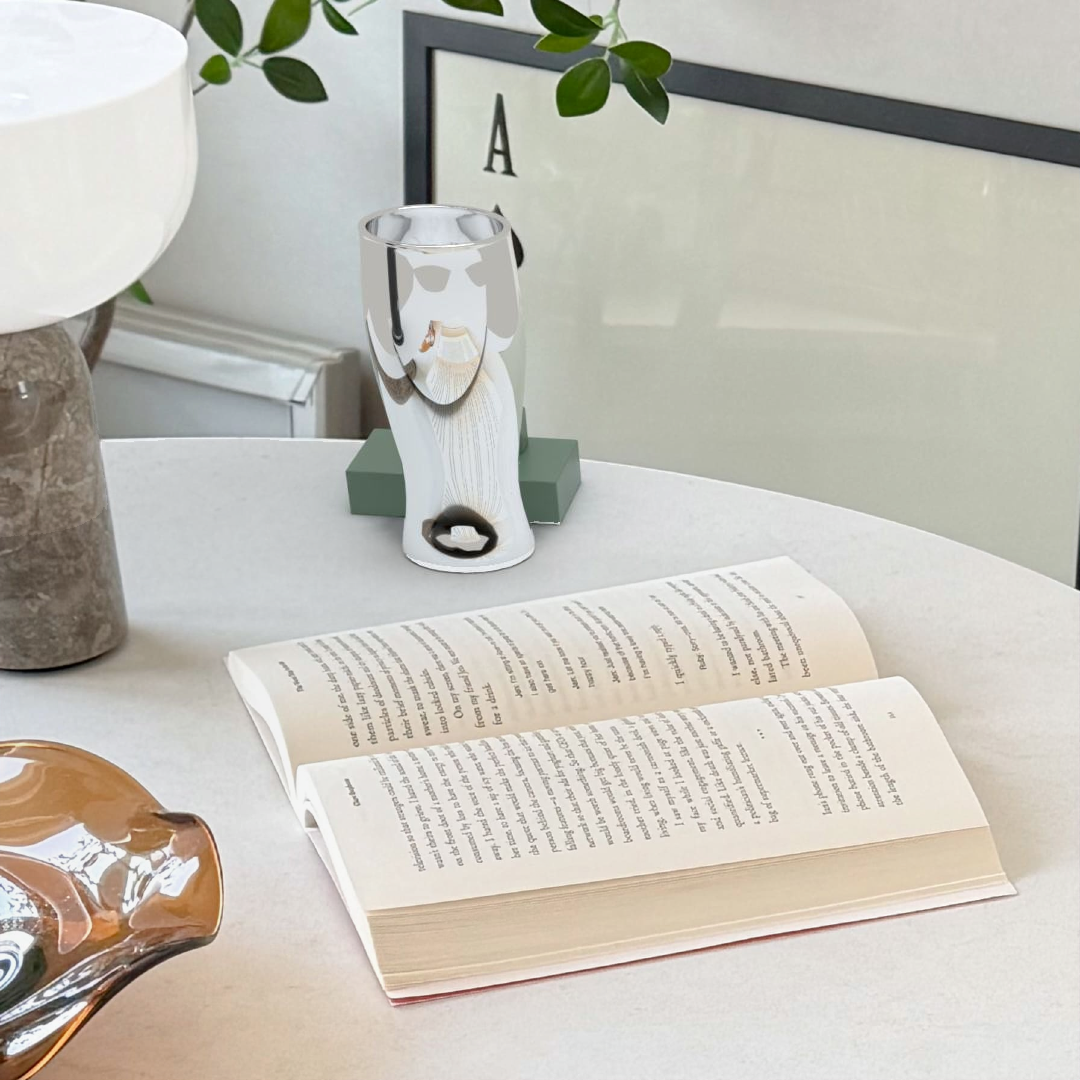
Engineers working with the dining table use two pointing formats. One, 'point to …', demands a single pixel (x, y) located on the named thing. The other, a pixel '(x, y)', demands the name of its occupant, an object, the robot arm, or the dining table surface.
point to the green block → (542, 470)
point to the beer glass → (450, 376)
